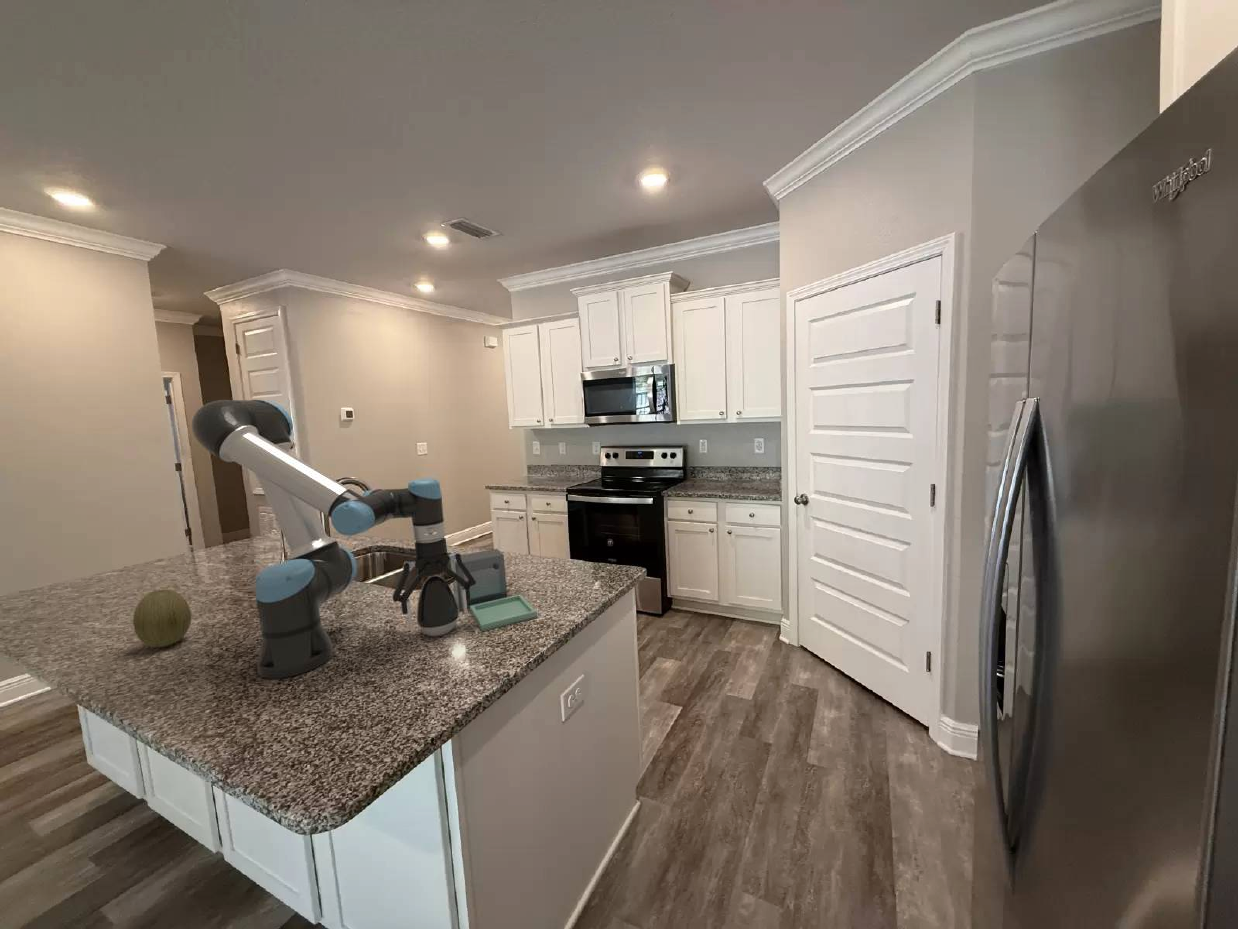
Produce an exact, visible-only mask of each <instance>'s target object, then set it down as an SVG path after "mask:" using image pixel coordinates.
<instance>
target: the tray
mask: <svg viewBox="0 0 1238 929" xmlns="http://www.w3.org/2000/svg"><path fill="white" fill-rule="evenodd" d="M469 612H470V614H471V616H472V617H473V619H474V620H475V623H477V626H478V627H479V630H481V633H483V632H486V631H491V630H494V629H498V628H502V627H505V626H506V627H507V626H509V625H514V624H519V623H522V622H525V621H526V622H527V621H529V620H533V619H537V618H538V610H536V608H534V606H533V605H532V604H531V603H529V601H528V600H527V599H526V598H525V597H524V596H523V595H522V593H521V594H516V595H515V594H514V595H511V596H507V597H506V598H502V599H498V600H493V601H489V602H485V603H480V604H476V605H472V606H470V609H469Z"/></svg>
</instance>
